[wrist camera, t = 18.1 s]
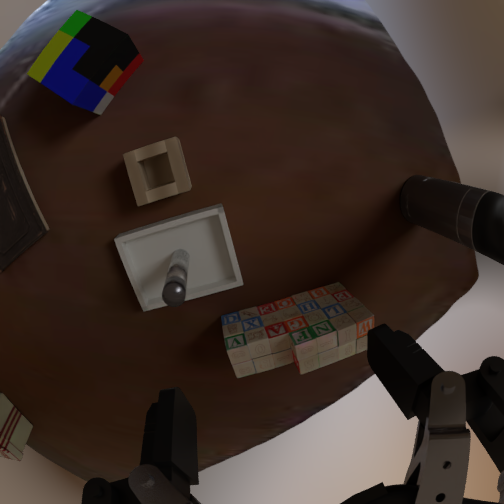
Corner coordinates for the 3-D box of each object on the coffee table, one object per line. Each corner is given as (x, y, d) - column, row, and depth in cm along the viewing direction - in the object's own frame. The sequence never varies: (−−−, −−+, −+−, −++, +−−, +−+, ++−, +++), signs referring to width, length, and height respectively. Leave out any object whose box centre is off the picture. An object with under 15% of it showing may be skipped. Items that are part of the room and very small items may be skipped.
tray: (221, 203, 39) (222, 206, 37) (241, 277, 44) (243, 284, 41) (118, 234, 38) (113, 239, 35) (146, 303, 42) (143, 311, 40)
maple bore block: (179, 139, 35) (175, 136, 31) (191, 186, 38) (190, 190, 33) (132, 154, 35) (123, 154, 30) (145, 200, 37) (137, 206, 33)
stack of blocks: (229, 342, 48) (238, 393, 36) (220, 314, 45) (227, 363, 34) (341, 309, 49) (374, 347, 38) (339, 280, 47) (376, 316, 36)
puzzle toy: (100, 115, 32) (72, 104, 22) (59, 87, 28) (26, 73, 19) (143, 60, 30) (128, 34, 21) (99, 35, 27) (76, 9, 18)
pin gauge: (186, 246, 40) (180, 283, 29) (191, 262, 41) (188, 303, 30) (169, 251, 40) (158, 288, 28) (175, 267, 40) (166, 309, 29)
